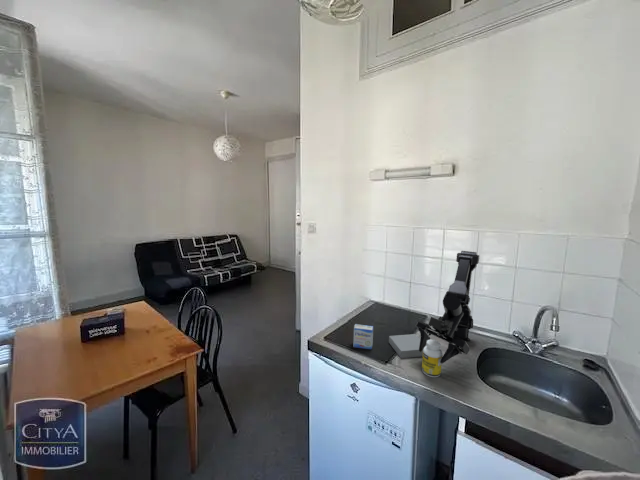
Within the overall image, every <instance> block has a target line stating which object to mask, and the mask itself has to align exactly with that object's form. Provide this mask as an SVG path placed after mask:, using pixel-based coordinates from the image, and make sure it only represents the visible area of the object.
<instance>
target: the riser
mask: <svg viewBox="0 0 640 480" xmlns="http://www.w3.org/2000/svg"><path fill="white" fill-rule="evenodd" d="M420 338H421V337H419V336H417V334H415V333H413V334H412V333H411V334H398V335H396V334H395V335H389V336H388V343H389V344H390V346H391V348H393V350H394V351H395V352H396V354H397V355H398V356H399V358H400V359H407V358H417V357H419V358H420V357H423V350H422V351H421V352H420V351H419V345H420ZM425 347H426V346H425Z"/></svg>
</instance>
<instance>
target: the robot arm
mask: <svg viewBox="0 0 640 480" xmlns="http://www.w3.org/2000/svg"><path fill="white" fill-rule="evenodd" d="M455 259H456V260H455V262H457V269H456V273H455V278H454V281H453V283H452V284H450V285H449V287H448V290H447V291H446V293H445V294H444V296H443V299H442V306H443V309H444V313H443V315H442V316H439V317H438V318H436V317H432V316H430V318H429V321H428V323H426V322H424V321H421V320H420V321H418V322H416V324H415V327H416V328H417V330H418V332H419V334H420V337H419V338H420V345H419V351H420V352H421V351H422V350H423V349H424V347H425V346H426V342H427V340H431V337H430V336H434V337H436V338H437V339H441V340H442V341H444V342H447V343H448V346H447V348H446V350H445V352H444V353H443V355H442V359H441V361H440V363H442V365H443V364H444V363H446V362H447V361H448V360H450V359H452V358H454V357H455V356H457V355H462V354H465V355H469V352H470V345H469V344H468V343H467V342H470V341H471V338H469V331H470V330H471V329H474V319H473V316H472V314H471V313H472V310H471V308H470V306H469V304H470V302H471V297H470V289H471V283H472V282H471V281H472V274H473V271H474V270H475V269H476V268H477V265H478V264H479V263H480V254H477V251H468V250H461V251H460V252H457V253H456V258H455Z"/></svg>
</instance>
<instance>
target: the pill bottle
mask: <svg viewBox="0 0 640 480" xmlns="http://www.w3.org/2000/svg"><path fill="white" fill-rule="evenodd" d="M441 345H442V344H441V342H440V341H438V340H436V339H430V340H427V342H426V347H424V349H423V356H422V358H421V359H422V362H421V371H422V373H423V374H424V375H426V376H427V377H430V378H438V377H440V376H441V374H442V365H443V364H442V363H440V361H441V359H442V357H443V355H444V353H443V351H442V349H441Z"/></svg>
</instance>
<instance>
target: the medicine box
mask: <svg viewBox="0 0 640 480" xmlns="http://www.w3.org/2000/svg"><path fill="white" fill-rule="evenodd" d="M373 338H374V325H366V324H365V325H364V324H358V323H355V324H354V325H353V340H352V341H353V344H352V345H353V348H357V349H364V350H373V345H374V344H373V343H374V339H373Z"/></svg>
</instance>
